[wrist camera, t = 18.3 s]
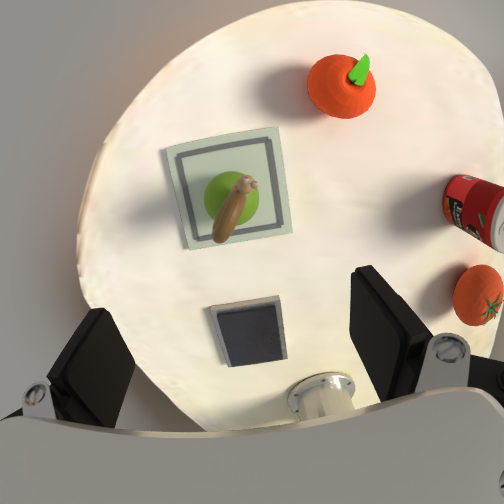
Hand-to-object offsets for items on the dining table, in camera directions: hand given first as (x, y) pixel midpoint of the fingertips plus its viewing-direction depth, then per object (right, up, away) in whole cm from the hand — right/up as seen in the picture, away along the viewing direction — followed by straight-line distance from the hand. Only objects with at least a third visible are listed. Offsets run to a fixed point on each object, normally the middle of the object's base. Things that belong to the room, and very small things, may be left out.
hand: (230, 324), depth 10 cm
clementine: (+10, +21, +16) cm, 28 cm away
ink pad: (+1, -9, +28) cm, 30 cm away
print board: (-2, +10, +20) cm, 22 cm away
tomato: (+37, -2, +28) cm, 46 cm away
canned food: (+31, +10, +22) cm, 39 cm away
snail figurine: (-1, +9, +20) cm, 22 cm away
